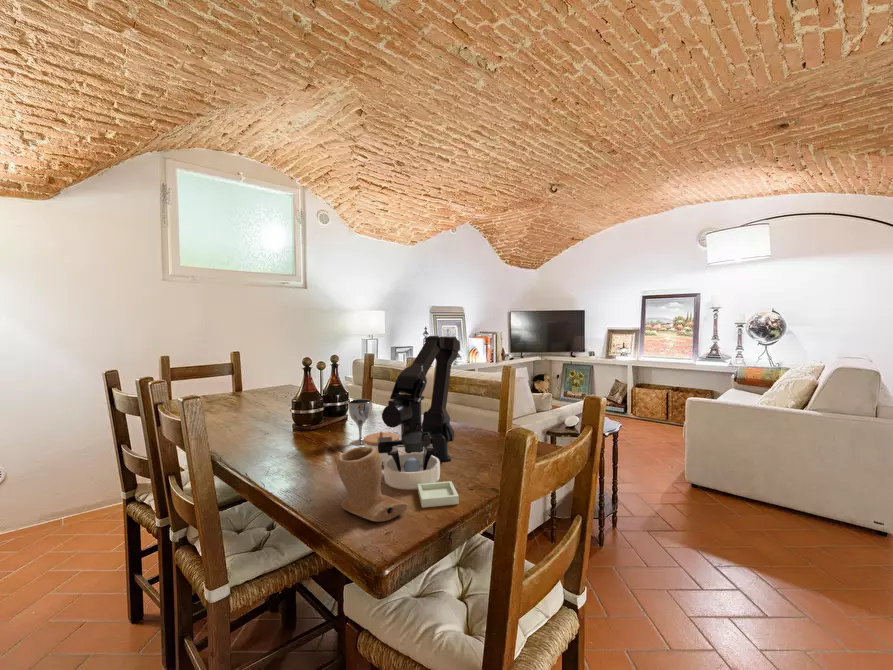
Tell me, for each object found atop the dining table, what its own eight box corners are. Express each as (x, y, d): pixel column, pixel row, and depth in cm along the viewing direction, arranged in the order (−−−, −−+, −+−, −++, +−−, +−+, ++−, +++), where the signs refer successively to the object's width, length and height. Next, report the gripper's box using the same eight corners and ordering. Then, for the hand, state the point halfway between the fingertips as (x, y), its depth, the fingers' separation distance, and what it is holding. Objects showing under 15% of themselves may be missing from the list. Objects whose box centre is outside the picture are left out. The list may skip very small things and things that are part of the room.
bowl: (383, 470, 123) (383, 455, 122) (435, 466, 125) (434, 451, 125) (385, 492, 107) (385, 475, 107) (444, 487, 110) (443, 470, 110)
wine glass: (373, 444, 147) (372, 402, 146) (351, 447, 144) (349, 404, 143) (369, 437, 154) (368, 398, 153) (347, 440, 151) (346, 399, 150)
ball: (403, 472, 118) (403, 456, 118) (419, 470, 119) (419, 455, 119) (404, 478, 114) (404, 462, 113) (421, 477, 114) (421, 460, 114)
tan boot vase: (327, 512, 97) (326, 449, 96) (368, 495, 106) (367, 437, 105) (368, 535, 87) (367, 465, 86) (409, 513, 96) (408, 450, 95)
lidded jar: (404, 457, 133) (403, 428, 133) (390, 469, 123) (390, 438, 123) (373, 454, 136) (373, 426, 136) (358, 466, 126) (357, 435, 125)
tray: (417, 491, 108) (417, 484, 108) (451, 488, 109) (451, 481, 109) (421, 507, 99) (421, 499, 99) (458, 504, 100) (458, 495, 100)
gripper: (377, 428, 106) (379, 488, 107) (449, 423, 109) (450, 481, 110) (377, 417, 117) (378, 471, 118) (442, 413, 120) (443, 466, 121)
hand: (412, 473), depth 116 cm, fingers open, 6 cm apart
